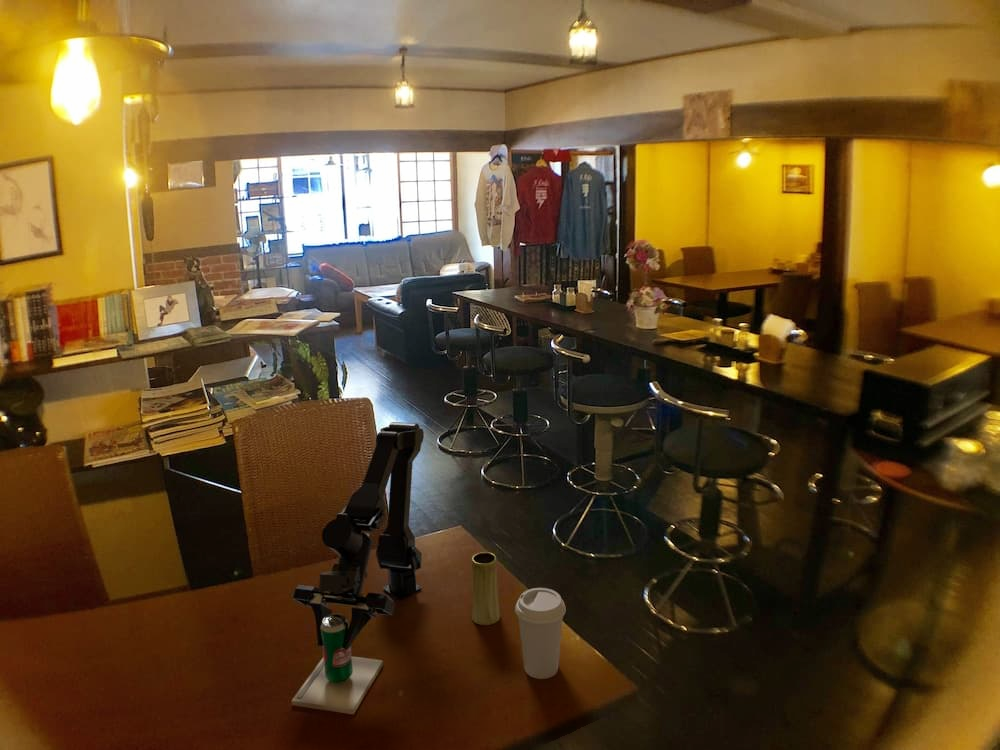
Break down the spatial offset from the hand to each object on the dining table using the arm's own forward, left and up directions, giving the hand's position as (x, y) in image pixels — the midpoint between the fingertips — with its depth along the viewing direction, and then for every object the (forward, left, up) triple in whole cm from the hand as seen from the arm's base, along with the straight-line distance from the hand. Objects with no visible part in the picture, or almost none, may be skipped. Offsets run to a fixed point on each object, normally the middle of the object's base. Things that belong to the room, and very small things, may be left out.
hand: (332, 647), depth 135 cm
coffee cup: (+23, +31, -9) cm, 40 cm away
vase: (+3, +35, -9) cm, 36 cm away
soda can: (-1, +1, -7) cm, 7 cm away
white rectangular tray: (-1, +1, -9) cm, 9 cm away
